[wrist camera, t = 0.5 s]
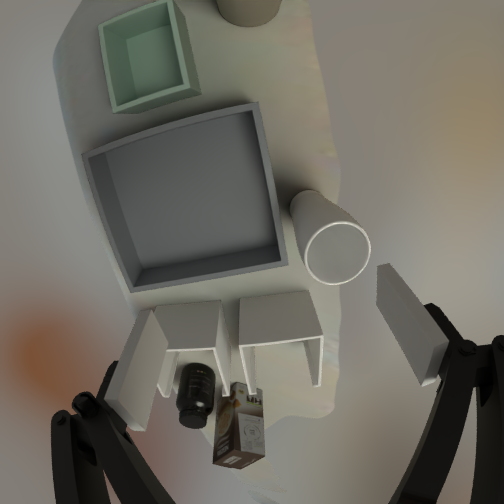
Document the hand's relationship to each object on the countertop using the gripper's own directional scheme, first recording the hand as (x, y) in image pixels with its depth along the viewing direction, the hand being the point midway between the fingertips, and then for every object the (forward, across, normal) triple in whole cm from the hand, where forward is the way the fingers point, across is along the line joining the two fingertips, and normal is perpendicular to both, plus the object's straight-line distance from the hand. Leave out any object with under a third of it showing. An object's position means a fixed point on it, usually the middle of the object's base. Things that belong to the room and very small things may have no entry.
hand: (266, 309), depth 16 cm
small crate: (+26, -8, +21) cm, 34 cm away
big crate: (+25, -8, +2) cm, 27 cm away
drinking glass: (+26, +7, -4) cm, 27 cm away
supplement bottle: (+25, -18, -32) cm, 45 cm away
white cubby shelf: (+25, -8, -22) cm, 34 cm away
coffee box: (+25, -12, -41) cm, 50 cm away
